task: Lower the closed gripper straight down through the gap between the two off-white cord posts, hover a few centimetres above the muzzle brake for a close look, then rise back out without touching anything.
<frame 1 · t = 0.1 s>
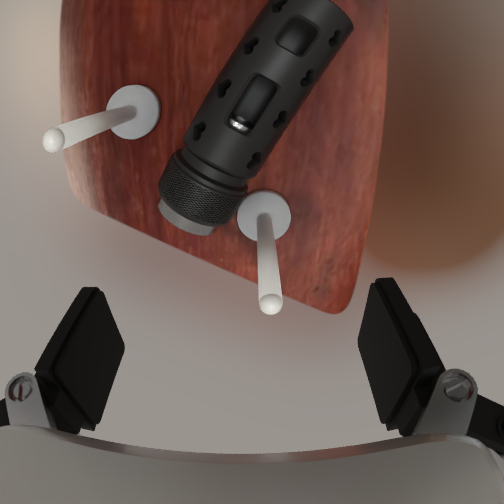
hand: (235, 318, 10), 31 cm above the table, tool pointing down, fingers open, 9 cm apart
muzzle brake: (248, 105, 35), on the table
cord post 2: (263, 213, 42), on the table
cord post 1: (135, 110, 35), on the table
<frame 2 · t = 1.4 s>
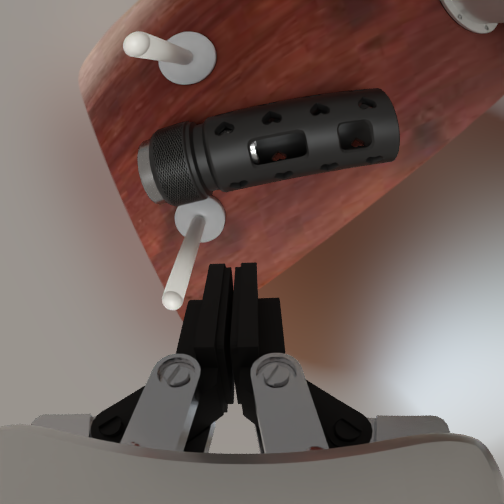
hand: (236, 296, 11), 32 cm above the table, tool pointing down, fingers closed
muzzle brake: (265, 134, 39), on the table
cord post 2: (201, 215, 44), on the table
cord post 1: (188, 58, 33), on the table
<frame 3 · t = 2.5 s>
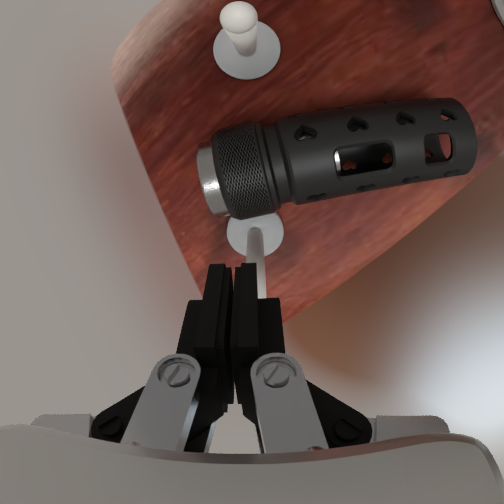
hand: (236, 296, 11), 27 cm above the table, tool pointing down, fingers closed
muzzle brake: (330, 140, 35), on the table
cord post 2: (255, 227, 40), on the table
cord post 1: (247, 50, 29), on the table
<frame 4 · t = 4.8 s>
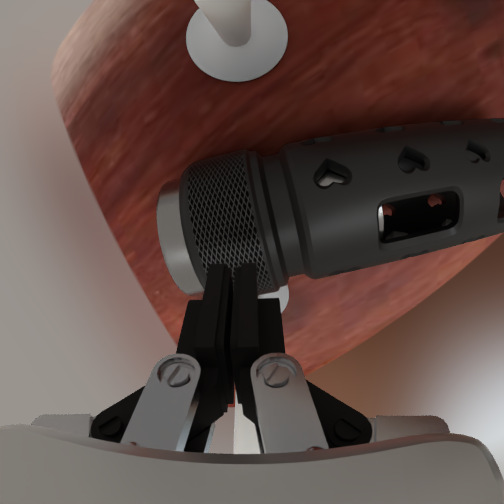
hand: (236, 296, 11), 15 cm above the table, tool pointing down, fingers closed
muzzle brake: (357, 170, 25), on the table
cord post 2: (250, 286, 30), on the table
cord post 1: (237, 38, 19), on the table
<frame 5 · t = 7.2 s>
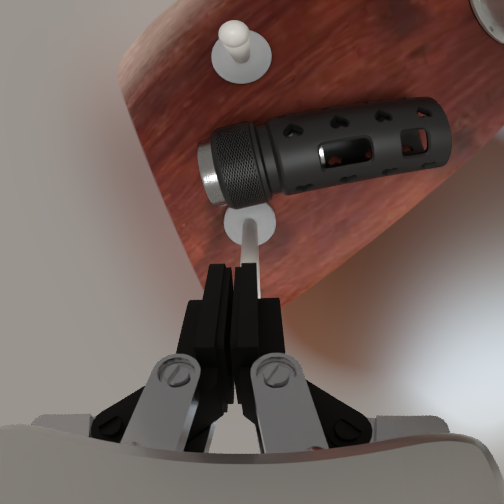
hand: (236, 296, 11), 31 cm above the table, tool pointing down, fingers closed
muzzle brake: (318, 137, 38), on the table
cord post 2: (249, 218, 44), on the table
cord post 1: (241, 57, 32), on the table
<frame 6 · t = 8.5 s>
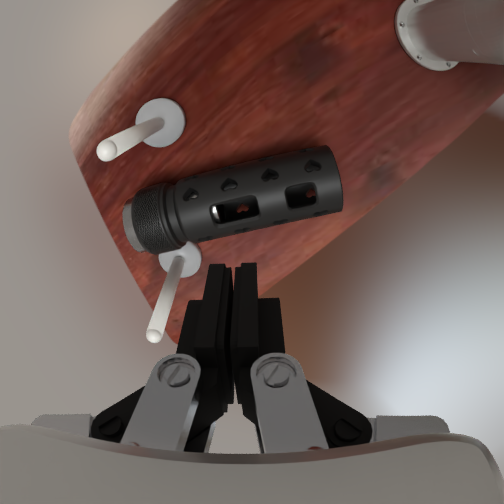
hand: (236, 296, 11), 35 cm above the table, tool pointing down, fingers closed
muzzle brake: (232, 186, 46), on the table
cord post 2: (181, 254, 52), on the table
cord post 1: (162, 121, 40), on the table
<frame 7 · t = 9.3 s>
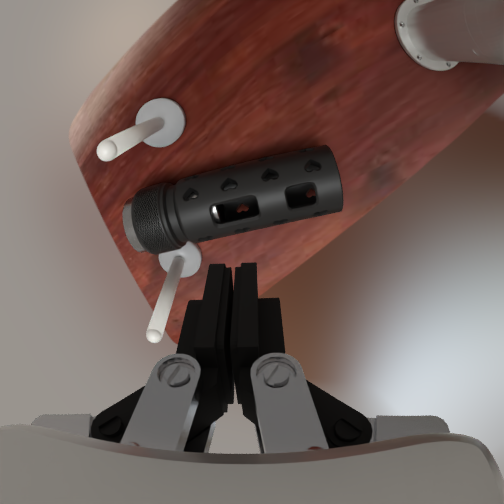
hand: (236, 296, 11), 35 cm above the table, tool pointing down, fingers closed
muzzle brake: (232, 186, 46), on the table
cord post 2: (181, 254, 52), on the table
cord post 1: (162, 121, 40), on the table
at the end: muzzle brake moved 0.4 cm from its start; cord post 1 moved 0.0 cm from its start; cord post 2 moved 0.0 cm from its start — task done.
